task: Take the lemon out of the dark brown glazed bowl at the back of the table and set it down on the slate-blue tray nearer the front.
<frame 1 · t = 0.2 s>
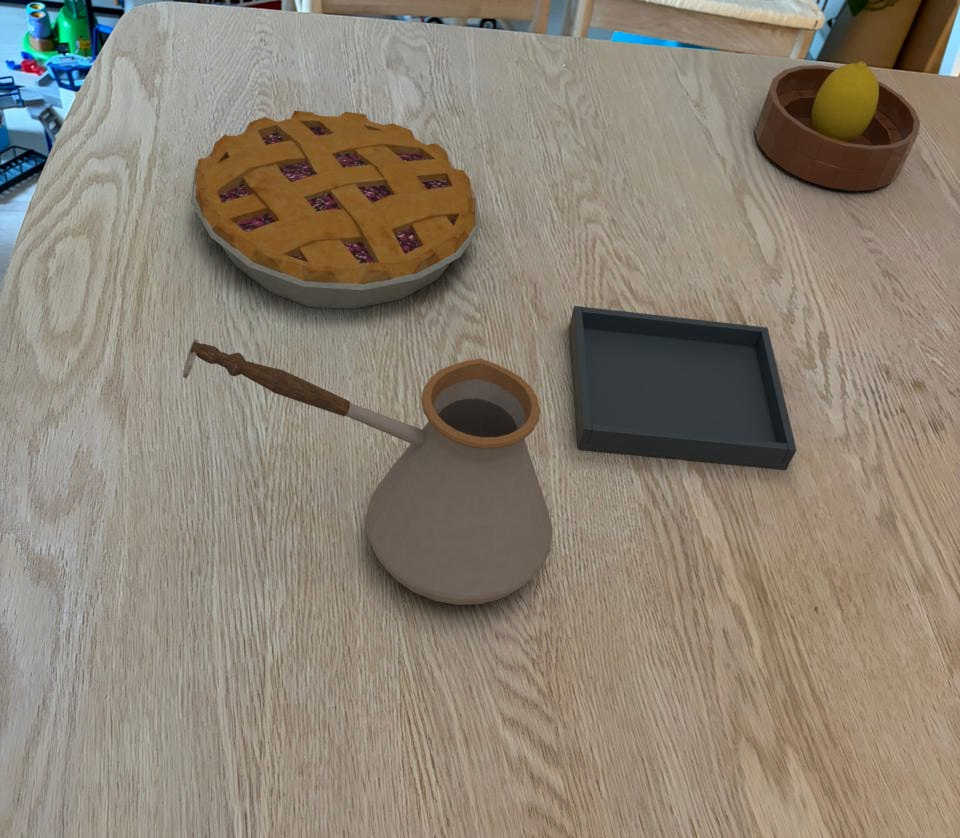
tray: (673, 395, 79), on the table
coffee pot: (376, 549, 67), on the table
lemon: (826, 149, 102), resting on bowl
bowl: (825, 151, 102), on the table
pie: (336, 235, 85), on the table
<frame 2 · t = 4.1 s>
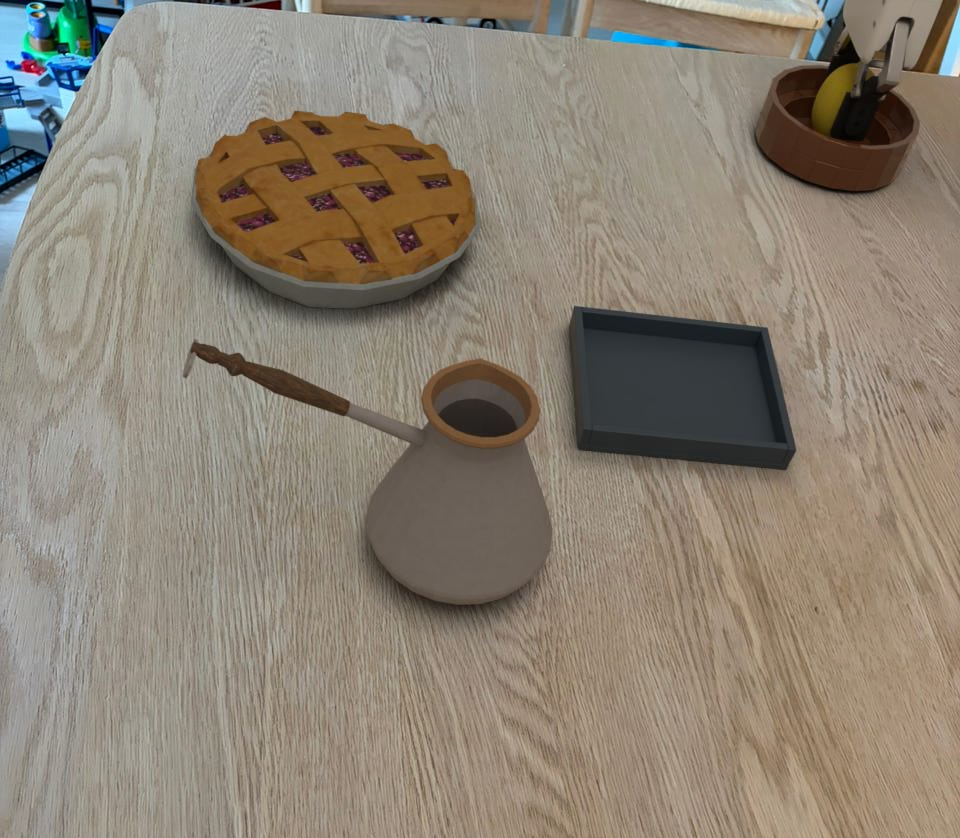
hand: (839, 117, 99), 3 cm above the table, tool pointing down, fingers closed on lemon, 5 cm apart
lemon: (826, 149, 102), resting on bowl, touching gripper
everything else where it was.
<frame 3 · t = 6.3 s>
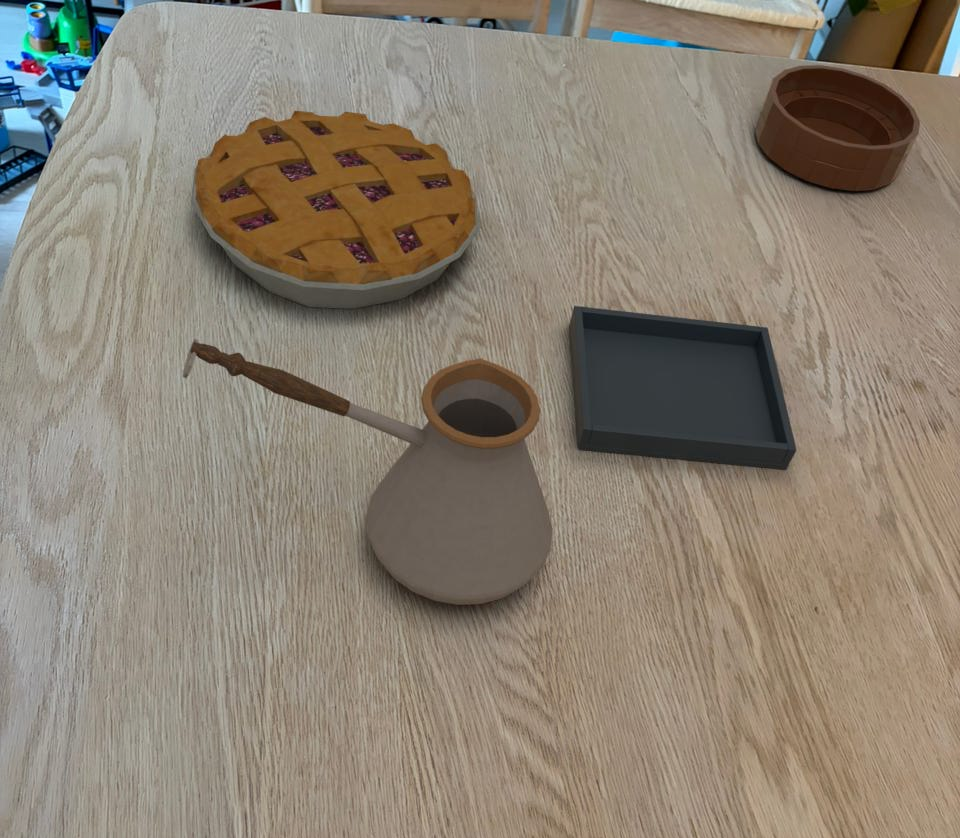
lemon: (882, 15, 89), point 14 cm above the table, touching gripper
everything else where it was.
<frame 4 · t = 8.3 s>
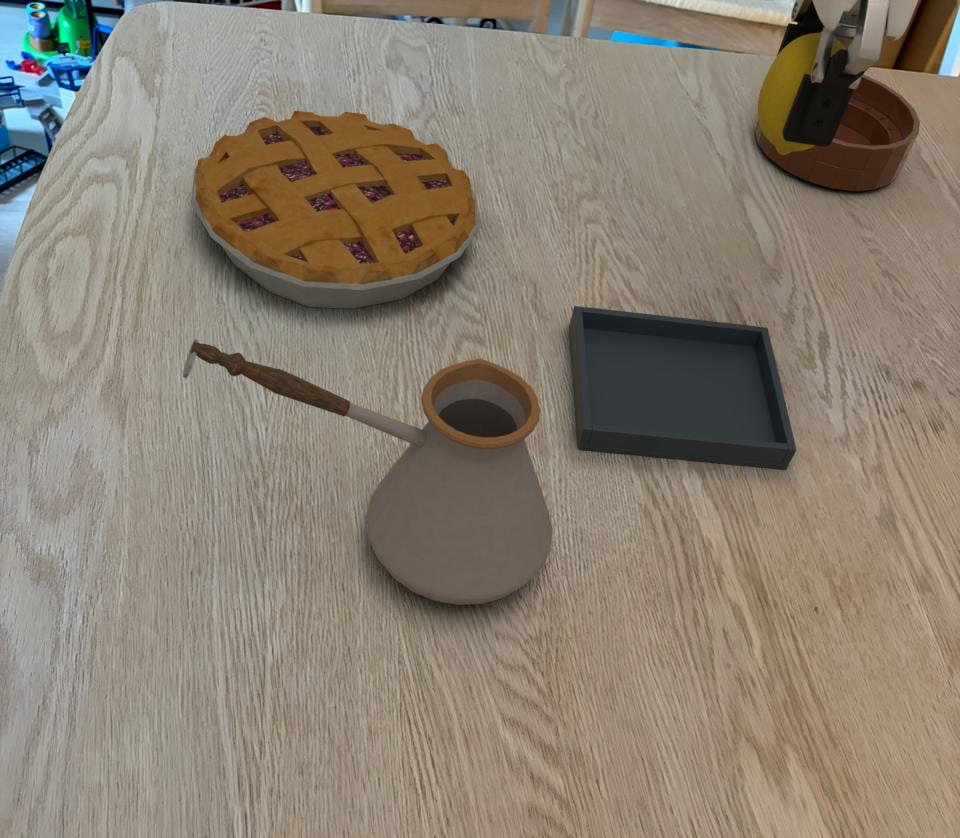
hand: (798, 112, 70), 18 cm above the table, tool pointing down, fingers closed on lemon, 5 cm apart
lemon: (780, 156, 72), point 15 cm above the table, touching gripper
everything else where it was.
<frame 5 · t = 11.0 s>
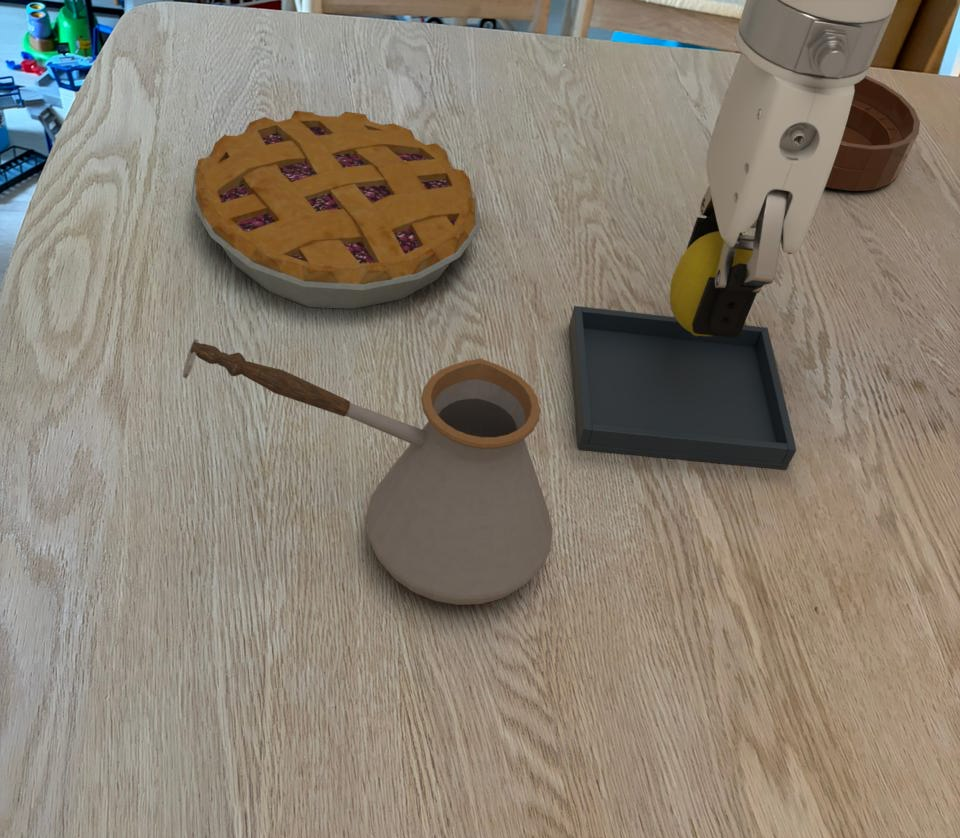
hand: (709, 300, 72), 9 cm above the table, tool pointing down, fingers closed on lemon, 5 cm apart
lemon: (694, 336, 74), point 5 cm above the table, touching gripper
everything else where it was.
when the fingers open (3 cm above the table, at t = 12.8 s): lemon stays where it is, resting on tray.
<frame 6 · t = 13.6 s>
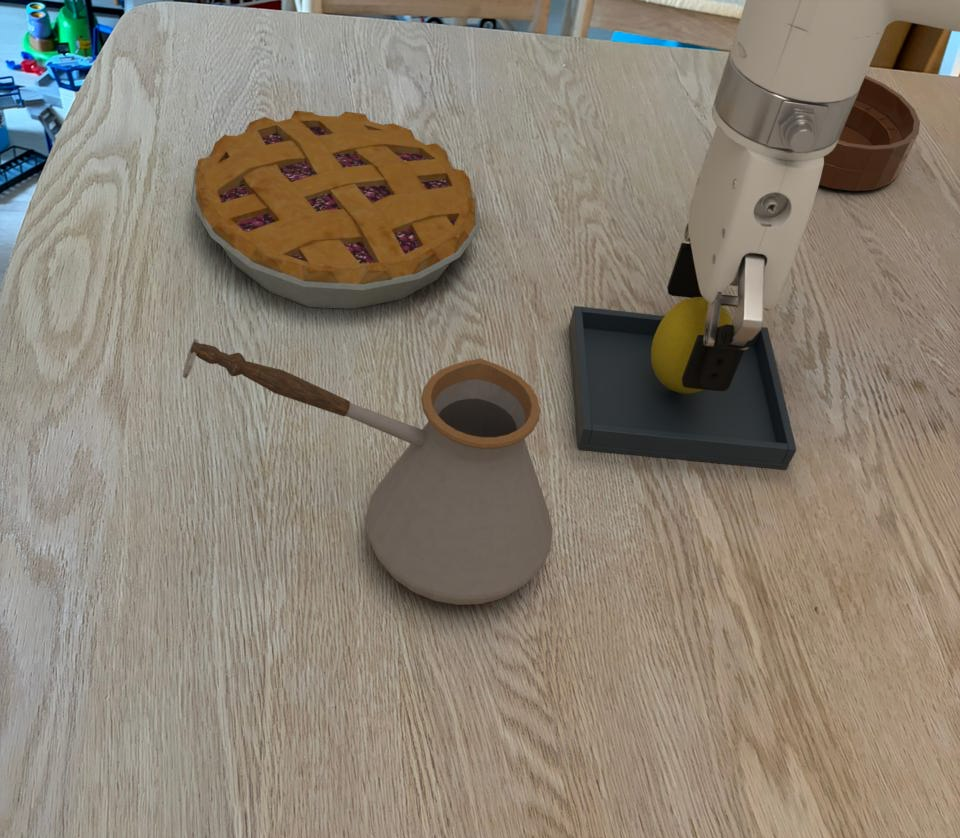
hand: (695, 339, 75), 5 cm above the table, tool pointing down, fingers open, 9 cm apart
lemon: (675, 392, 79), resting on tray
everything else where it was.
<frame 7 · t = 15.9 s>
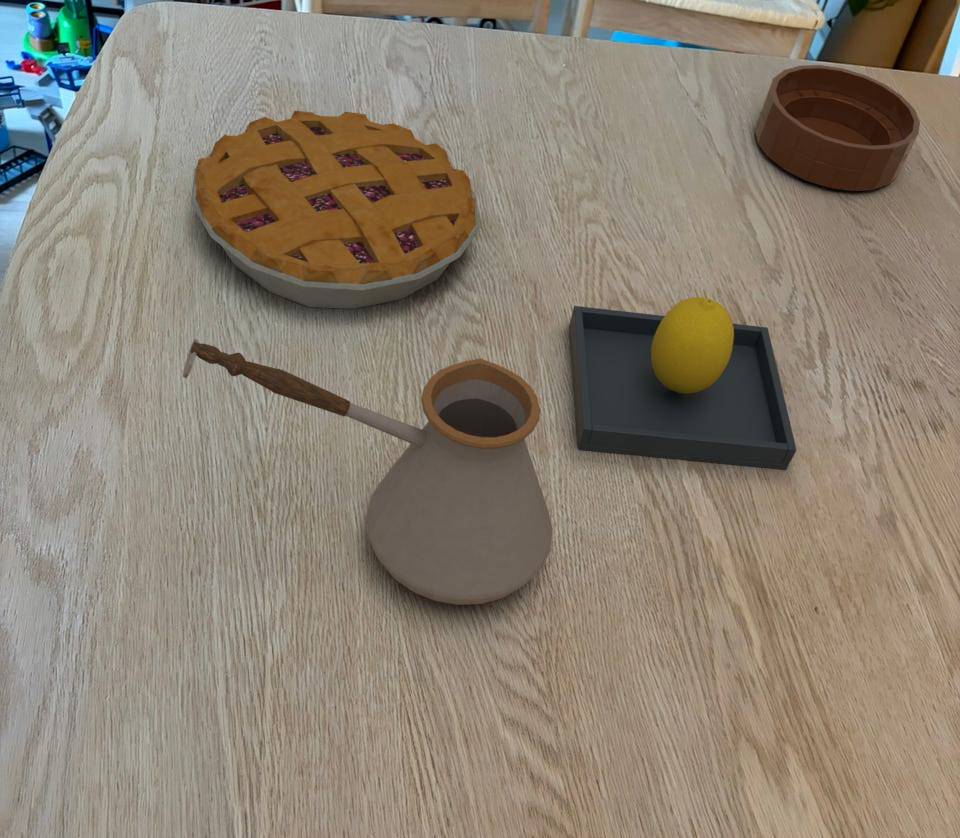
nothing on the table moved.
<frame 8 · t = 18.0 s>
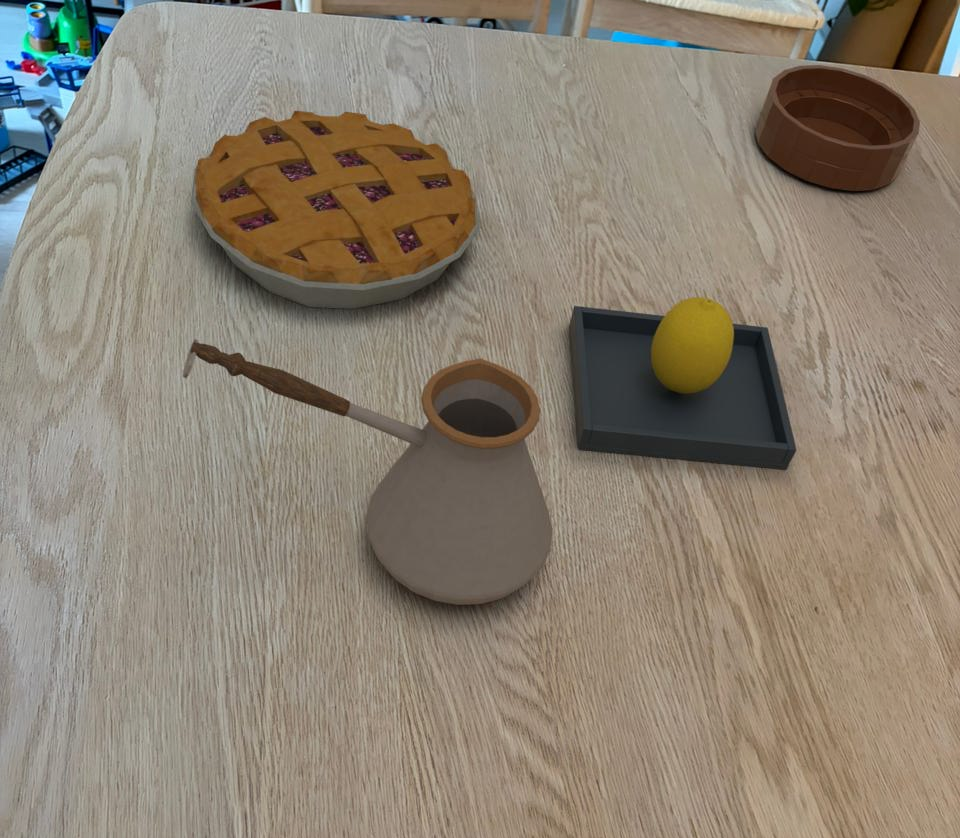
nothing on the table moved.
at the end: lemon inside the target area in the tray (0.0 cm from its centre), point 0.3 cm above the tray's base; lemon touching tray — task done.
